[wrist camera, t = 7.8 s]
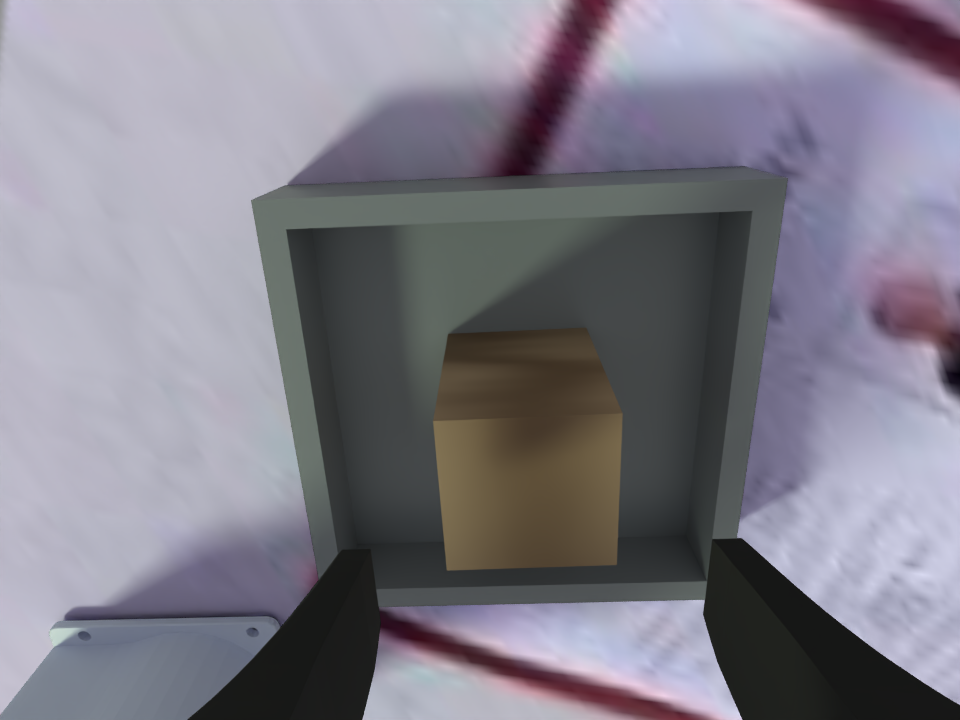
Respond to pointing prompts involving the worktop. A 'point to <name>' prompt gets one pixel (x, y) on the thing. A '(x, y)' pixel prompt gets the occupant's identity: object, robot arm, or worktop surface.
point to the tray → (515, 307)
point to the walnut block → (527, 451)
